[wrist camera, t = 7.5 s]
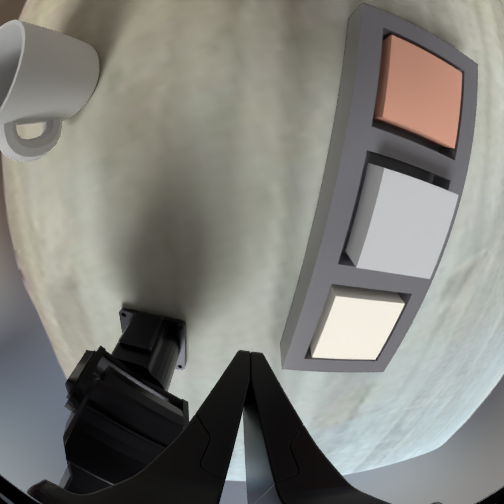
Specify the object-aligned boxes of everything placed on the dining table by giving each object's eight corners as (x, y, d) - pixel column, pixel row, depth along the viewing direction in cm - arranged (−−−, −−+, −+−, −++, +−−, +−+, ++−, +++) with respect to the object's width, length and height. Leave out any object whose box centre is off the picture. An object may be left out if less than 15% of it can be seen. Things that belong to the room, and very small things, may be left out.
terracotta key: (435, 145, 15) (454, 148, 13) (367, 118, 15) (382, 117, 13) (443, 76, 13) (462, 72, 11) (377, 44, 13) (391, 34, 11)
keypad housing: (373, 349, 25) (383, 371, 22) (280, 343, 24) (282, 369, 21) (454, 68, 13) (477, 64, 10) (348, 19, 13) (362, 2, 10)
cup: (106, 32, 13) (36, 0, 5) (102, 145, 17) (19, 162, 9) (44, 58, 13) (-26, 50, 5) (41, 159, 17) (-33, 182, 9)
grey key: (414, 263, 18) (429, 279, 15) (345, 251, 17) (356, 267, 15) (438, 186, 15) (458, 195, 13) (368, 163, 15) (384, 167, 13)
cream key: (367, 341, 23) (375, 359, 20) (308, 338, 22) (311, 357, 20) (393, 287, 20) (405, 303, 18) (328, 278, 20) (335, 296, 18)
